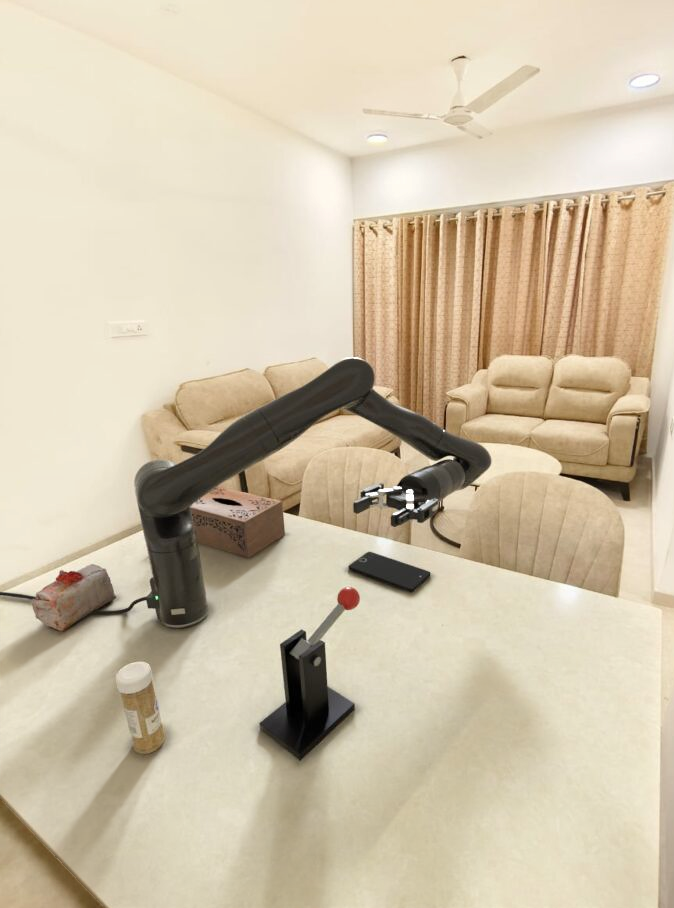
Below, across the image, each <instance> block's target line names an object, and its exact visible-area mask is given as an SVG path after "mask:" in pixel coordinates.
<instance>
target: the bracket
mask: <svg viewBox="0 0 674 908" xmlns="http://www.w3.org/2000/svg"><path fill="white" fill-rule="evenodd" d="M301 639H304V640H306V641H307V640H308V639H307V631H306V630H304V629H300V630H298V631H296V633H294V634H292V635H291V636H290V637H288V638H287V639H285V640H283V641H282V642H280V643H279V649H280V658H281V659H280V660H281V669H282V679H283V689H284V698H285V702H284V703H283V704H281V705H280V706H279V707H277V708H276V709H275V710H274V711H272V713H270V714H269V715H268V716H267V717H265V718H264V719H263V720H261V721H260V722H259V723H258V724H259V730H261V732H263V733H264V734H265V735H266V736H268V737H269V738H270V739H272V740H273V742H275V743H276V744H278V745H279V746H280V747H282V748H283V749H284V750H286V751H287V753H290V754H291V755H292V756H293V757H294V758H295V759H297V761H300V762H301V761H302V760H303V759H304V758H305V757H306V756H308V755H309V753H311V751H313V750H314V749H315V748H316V747H317V746H318V745H320V743H321V742H322V741H323V740H325V738H326V737H328V736H329V735H330V733H332V732H333V731H334V730H335V729H336V728H337V727H338V726H339V725H340V724H341V723H342V722H343V721H344V720H346V719H347V718H348V717H349V716H350V715H351V714H352V713H353V712H354V711H355V709H356V708H355V707H356V706H355V702H353V701H352V700H350V699H348V698H347V697H345V696H343V695H342V694H340V693H338V692H337V691H336V690H334V689H332V688H331V687H329V685H328V672H327V671H328V669H327V655H326V654H327V653H326V642H325V641H323V640H322V639H321V640H319V641H318V642H317V643H315V644H314V645H313V646H311V647H310V648H309V649H307V650H306V651H304V652H303V653H302V654H300V655H299V664H297V663H296V662H295V661H294V660H293V658H292V657H291V655H290V651H291V650H292V649H293V648H294V647H295V646H296V644H297V643H298V642H299V641H300V640H301Z"/></svg>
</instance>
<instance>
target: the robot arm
mask: <svg viewBox="0 0 674 908" xmlns="http://www.w3.org/2000/svg"><path fill="white" fill-rule="evenodd" d="M375 375H376V374H375V371H374V368H373V367H372V365H371V364H370V362H368V361H366V360H365V359H363V358H360V357H353V356H352V357H351V356H350V357H345V358H342V359H340V360H338V361H337V362H335V363H334V364H333V365H331V366H330V367H329V368H328V369H326V370H325V371H324V372H322V373H320V374H319V375H317V376H316V377H315V378H313V379H311V380H309V382H307V383H306V384H304V385H302V386H300V387H298V388H296V389H293V390H291V391H289V392H287V393H285V394H282V395H280V396H279V397H276V398H275V399H272V400H270V401H269V402H267V403H265V404H263V405H260V406H258V407H256V408H254V409H253V410H251V411H250V412H248V413H246V414H244V415H242V416H241V417H238V418H237V419H236V420H235V421H232V423H230V425H228V426H227V427H226V428H225V429H224V430H222V431H221V432H220V433H219V434H218V435H217V436H216V438H214V440H212V441H211V443H209V444H208V445H207V446H206V447H205V448H203V449H201V450H200V451H199V452H198V453H195V454H194V455H192V456H191V457H188V458H186V459H185V460H182V461H180V462H178V463H175V462H173V461H171V460H168V459H161V458H160V459H152V460H150V461H147V462H146V463H144V464H143V465H141V467H140V468H139V469H138V470H137V472H136V474H135V475H134V480H133V487H134V493H135V498H136V502H137V507H138V512H139V516H140V517H139V518H140V521H141V522H140V523H141V528H142V532H143V536H144V541H145V545H146V550H147V555H148V560H149V565H150V569H151V575H152V577H150V578H149V585H150V592H149V593H148V594H147V595H146V596H143V597H140V598H136V599H135V600H133V601H132V602H131V603H130V604H129V606H128V607H126V608H123V609H116V610H102V609H97V610H94V611H92V612H91V613H90V614H97V615H118V614H124V613H128V612H130V611H131V610H132V609H133V608H134V606H135V605H137V604H139V603H141V602H144V601H145V602H146V606H147V609H153V610H154V609H155V613H156V619H157V620H159V621H160V622H161V624H162V625H163V626H164V627H166V628H169V629H185V628H189V627H192V626H194V625H197V624H199V623H201V622H202V621H203V620H204V619H205V618H206V617H207V616H208V614H209V611H210V607H209V604H208V599H207V592H206V585H205V580H204V574H203V567H202V561H201V555H200V554H201V553H200V549H199V542H197V536H196V529H195V525H194V521H193V517H192V513H191V508H190V506H191V505H192V504H193V503H195V502H196V501H197V500H199V499H200V498H201V497H203V496H204V495H206V494H207V493H208V492H210V491H211V490H212V489H214V488H215V487H217V486H220V485H222V484H223V483H224V482H227V481H229V480H230V479H232V478H233V477H235V476H237V475H239V474H241V473H242V472H244V471H246V470H248V469H250V468H251V467H253V466H255V465H256V464H258V463H260V462H262V461H264V460H265V459H267V458H269V457H271V456H272V455H274V454H276V453H277V452H279V451H281V450H282V449H284V448H285V447H287V446H289V445H290V444H292V443H293V442H294V441H295V440H297V439H298V438H300V437H301V436H302V435H303V434H305V433H306V432H307V431H308V430H309V429H311V428H312V427H313V426H314V425H316V423H318V422H319V421H320V420H321V419H323V418H324V417H327V416H328V415H330V414H333V413H334V412H336V411H338V410H340V409H343V410H345V411H346V412H347V411H348V412H350V413H351V414H354V415H356V416H358V417H360V418H363V419H365V420H367V421H369V423H370V422H371V423H372V424H374V425H376V426H378V427H380V428H381V429H383V430H384V431H386V432H388V433H390V434H391V435H393V436H395V437H396V438H398V439H399V440H400V441H402V442H404V443H405V444H407V445H408V446H410V447H411V448H412V449H414V450H415V451H417V452H419V453H420V454H421V455H422V456H424V457H426V458H427V459H429V460H430V461H433V462H435V463H433V464H431V465H428V466H424V467H422V468H420V469H418V470H416V471H413V472H411V473H408V474H407V475H405V476H403V477H401V478H400V480H399V482H397V485H396V486H391V487H389V488H386V487H385V484H384V483H383V482H378V483H375V484H373V485H370V486H368V487H366V488H363V489H361V490H360V498H359V499H357V500H354V501H353V502H352V508H353V509H352V511H353V513H354V514H357V515H358V514H360V513H363V512H364V511H366V510H368V509H370V508H379V509H380V510H382V509H395V510H397V511H395V512H394V513H392V514H391V515H390V526H391V527H393V528H396V527H398V526H402V525H403V524H405V523H407V522H414V520H415V521H416V522H417V523H418V524H424V523H425V522H427V521H428V520H429V519H431V518H432V517H433V516H435V515H436V514H437V513H438V510H439V509H438V508H439V503H440V502H442V501H443V500H444V499H445V498H447V497H448V496H450V495H451V494H454V493H455V492H457V491H462V490H464V489H466V488H468V487H469V486H471V485H472V484H474V482H476V481H477V480H478V479H479V478H480V477H482V475H483V474H485V473H486V472H487V471H488V470H489V469H490V468H491V465H492V455H491V454H490V452H489V451H488V449H486V448H485V447H484V446H483V445H482V444H480V443H479V442H476V441H474V440H471V439H467V438H464V437H462V436H459V435H457V434H454V433H451V432H448V431H447V430H445V429H444V428H443V427H442V426H440V425H439V424H437V423H435V421H432V420H431V419H429V418H428V417H426V416H424V415H423V414H420V413H418V412H417V411H414V410H411V409H409V408H406V407H404V406H401V405H399V404H397V403H395V402H393V401H391V400H389V399H387V398H386V397H384V396H382V394H380V393H379V392H377V391H376V390H375V389H374V386H375V382H376V381H375V380H376V376H375ZM446 457H452V458H451V459H450V458H449V459H448V458H447V459H444V458H446ZM384 497H385V502H384ZM0 596H4V597H14V598H20V599H25V600H26V599H27V600H32V599H35V598H36V596H34V595H30V594H29V595H28V594H23V593H17V592H16V593H14V592H6V591H0Z"/></svg>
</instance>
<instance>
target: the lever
mask: <svg viewBox="0 0 674 908" xmlns="http://www.w3.org/2000/svg"><path fill="white" fill-rule="evenodd" d="M336 600H337V605H336V606H334V608H333V609H332V610H331V611H330V613H329V614H328V615H327V617H326V618H325V619H324V620H323V621H322V622H321V623H320V625H319V626H318V627H317V629H316V630H315V631H314V632H313V633H312V634H311V636H310V637H309V638H308V639H307V641H306V640H304V639H301V640H300V641H299V642H298V643H297V644H296V646H295V647H294V648H293V649H292V650H291V651H290V655H291V657H292V658H293V660H294V661H295V662H296V663H297V664H299V655H300V654H302V653H303V652H304V651H306V650H307V649H309V648H310V647H311V646H313V645H314V644H315V643H317V642H318V641H319V640H321V641H322V639H323V638H324V636H325V635H326V634H327V633H328V631H329V630H330V629H331V628H332V626H333V625H334V624H335V623H336V622H337V620H338V619H339V618H340V616H341V615H342V614H343V613H344V612H345V611H352V610H355V609H356V608H357V607H358V605H359V604H360V601H361V596H360V593H359V591H358V590H357V589H356V588H354V587H352V586H346V587H342V588H341V589H340V591H339V592H338V593H337V597H336Z"/></svg>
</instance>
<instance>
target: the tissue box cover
mask: <svg viewBox="0 0 674 908" xmlns="http://www.w3.org/2000/svg"><path fill="white" fill-rule="evenodd" d="M283 506H284V505H283V500H279V499H274V498H271V497H266V496H262V495H258V494H253V493H249V492H244V491H241V490H236V489H233V488H227V487H224V486H220V485H218V486H217V487H215V488H214V489H212V490H211V491H210V492H208V493H207V494H206V495H204V496H203V497H201V498H200V499H199V500H197V501H196V502H195V503H193V504H192V505H191V506H190V508H191V513H192V517H193V521H194V525H195V529H196V536H197V542H198V544H203V545H207V546H209V547H212V548H215V549H218V550H222V551H226V552H229V553H232V554H235V555H239V556H241V557H244V558H248V559H249V558H251V557H253V556H254V555H256V554H257V553H259V552H260V551H262V550H263V549H265V548H267V547H268V546H270V545H271V544H273V543H274V542H276V541H277V540H279V539H280V538H282V537H283V536H285V535H286V529H285V518H284V517H285V516H284V507H283Z"/></svg>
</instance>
